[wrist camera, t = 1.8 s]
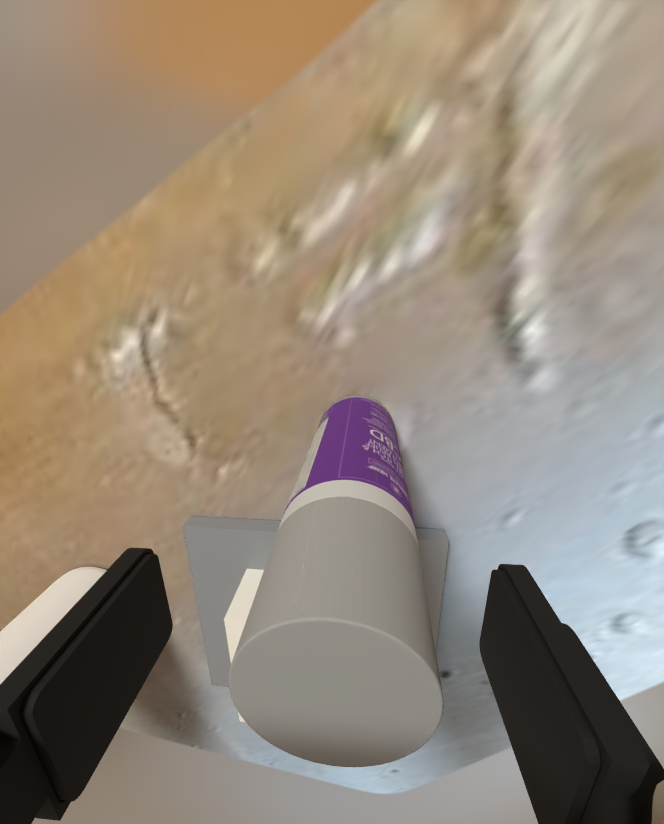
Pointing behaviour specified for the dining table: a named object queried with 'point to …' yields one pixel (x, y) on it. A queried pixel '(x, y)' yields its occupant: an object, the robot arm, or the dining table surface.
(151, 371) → the dining table surface
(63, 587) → the pill bottle
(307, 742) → the container
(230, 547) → the square socket holder
